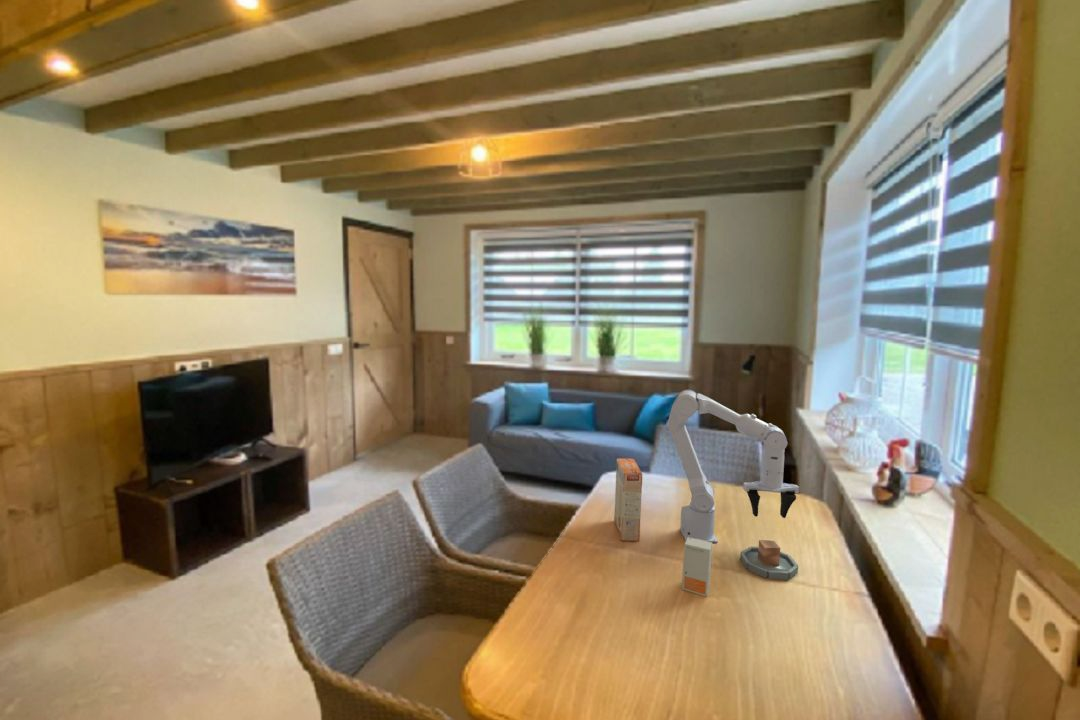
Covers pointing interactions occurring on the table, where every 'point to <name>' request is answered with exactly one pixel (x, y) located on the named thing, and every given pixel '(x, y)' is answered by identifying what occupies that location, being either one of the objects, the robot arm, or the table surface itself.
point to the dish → (782, 571)
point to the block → (769, 553)
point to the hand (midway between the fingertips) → (768, 515)
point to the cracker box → (628, 499)
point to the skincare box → (697, 566)
